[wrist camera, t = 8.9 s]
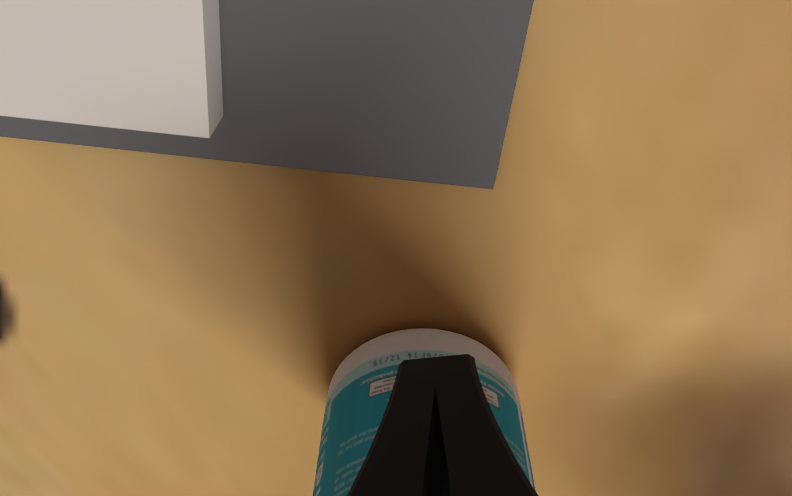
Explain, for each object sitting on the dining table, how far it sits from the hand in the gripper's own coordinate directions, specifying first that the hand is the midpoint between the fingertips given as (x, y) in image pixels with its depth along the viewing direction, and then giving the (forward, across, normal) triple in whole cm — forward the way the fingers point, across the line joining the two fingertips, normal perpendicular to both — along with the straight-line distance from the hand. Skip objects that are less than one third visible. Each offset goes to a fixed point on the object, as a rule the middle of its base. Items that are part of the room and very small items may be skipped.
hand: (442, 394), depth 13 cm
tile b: (+9, +5, -6) cm, 11 cm away
